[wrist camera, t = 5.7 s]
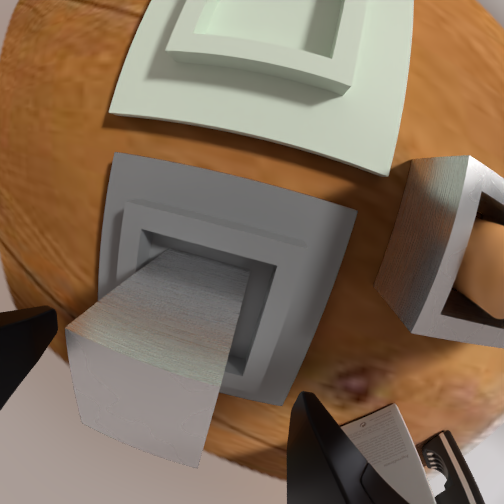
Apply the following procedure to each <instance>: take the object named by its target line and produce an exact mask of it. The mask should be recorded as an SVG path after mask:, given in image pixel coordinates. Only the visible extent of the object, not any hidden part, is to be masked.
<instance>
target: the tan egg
mask: <svg viewBox="0 0 504 504" xmlns="http://www.w3.org/2000/svg"><path fill="white" fill-rule="evenodd" d="M453 287H454V288H456V289H457V290H458V291H460V292H461V293H462V294H464V295H465V296H466V297H468V298H469V299H470V300H472V301H473V302H474V303H476V304H477V305H478V306H480V307H481V308H482V309H484V310H485V311H486V312H487V313H489V314H490V315H491V316H492V317H494V318H496V319H504V226H503V225H500V224H496V223H493V222H490V221H486V220H483V219H479V218H476V217H475V221H474V224H473V228H472V231H471V235H470V238H469V241H468V244H467V247H466V250H465V253H464V256H463V259H462V262H461V265H460V268H459V270H458V273H457V276H456V278H455V281H454V283H453Z"/></svg>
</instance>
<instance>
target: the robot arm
mask: <svg viewBox="0 0 504 504" xmlns="http://www.w3.org/2000/svg"><path fill="white" fill-rule="evenodd" d="M57 330H58V324H57V314H56V311H55V309H53V308H51V307H49V306H40V307H34V308H27V309H21V310H14V311H8V312H1V313H0V410H1V409H2V407H3V406H4V405H5V403H6V402H7V401H8V399H9V398H10V397H11V395H12V394H13V393H14V391H15V390H16V388H17V387H18V386H19V385H20V383H21V382H22V381H23V379H24V378H25V377H26V376H27V374H28V373H29V372H30V370H31V369H32V368H33V367H34V365H35V364H36V363H37V362H38V360H39V359H40V357H41V356H42V354H43V353H44V351H45V350H46V348H47V347H48V345H49V344H50V342H51V341H52V339H53V338H54V336H55V335H56V333H57ZM287 504H410V503H408V502H407V501H406V500H405V499H404V498H403V497H402V496H401V495H400V494H398V493H397V492H396V491H395V490H394V489H393V488H392V487H391V486H390V485H389V484H388V483H387V482H386V481H385V480H384V479H383V478H382V477H381V476H380V475H379V473H378V472H377V471H376V470H375V469H374V468H373V467H372V465H371V464H370V463H368V461H367V459H366V458H365V457H364V456H363V455H362V453H361V452H360V451H359V450H358V448H357V447H356V446H355V445H354V444H353V442H352V441H351V440H350V439H349V437H348V436H347V435H346V434H345V432H344V431H343V430H342V429H341V427H340V426H339V425H338V424H337V422H336V421H335V420H334V419H333V417H332V416H331V415H330V413H329V412H328V411H327V410H326V408H325V407H324V406H323V404H322V403H321V402H320V401H319V399H318V398H317V397H316V395H315V394H314V393H312V392H305V391H302V392H301V393H300V394H299V396H298V398H297V400H296V401H295V403H294V405H293V407H292V410H291V416H290V426H289V435H288V443H287Z"/></svg>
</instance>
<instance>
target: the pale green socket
mask: <svg viewBox="0 0 504 504" xmlns="http://www.w3.org/2000/svg"><path fill="white" fill-rule="evenodd" d="M413 6H414V0H151V2H150V4H149V6H148V8H147V10H146V12H145V15H144V17H143V19H142V21H141V23H140V25H139V28H138V30H137V32H136V35H135V37H134V39H133V42H132V44H131V47H130V49H129V52H128V55H127V57H126V60H125V63H124V65H123V68H122V71H121V74H120V77H119V80H118V83H117V86H116V89H115V92H114V96H113V99H112V102H111V106H110V109H109V113H111V114H114V115H117V116H127V117H136V118H145V119H154V120H161V121H168V122H175V123H182V124H188V125H194V126H200V127H205V128H211V129H216V130H221V131H226V132H231V133H235V134H240V135H244V136H249V137H253V138H257V139H261V140H266V141H270V142H273V143H277V144H281V145H285V146H289V147H292V148H296V149H299V150H303V151H306V152H310V153H313V154H316V155H320V156H323V157H326V158H329V159H332V160H335V161H338V162H341V163H344V164H347V165H350V166H353V167H356V168H359V169H362V170H364V171H367V172H370V173H373V174H375V175H378V176H380V177H388V176H389V172H390V168H391V163H392V159H393V155H394V151H395V146H396V141H397V137H398V132H399V127H400V122H401V116H402V111H403V105H404V99H405V93H406V86H407V79H408V71H409V63H410V53H411V42H412V29H413Z"/></svg>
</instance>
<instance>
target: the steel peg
mask: <svg viewBox="0 0 504 504" xmlns="http://www.w3.org/2000/svg"><path fill="white" fill-rule="evenodd" d="M249 274H250V270H247V269H244V268H240V267H236V266H233V265H229V264H225V263H222V262H218V261H214V260H211V259H207V258H203V257H200V256H196V255H193V254H189V253H185V252H182V251H178V250H175V249H171V248H169V249H168V250H166V251H165V252H164V253H162V254H161V255H159V256H158V257H157V258H155V259H154V260H153V261H151V262H150V263H148V264H147V265H146V266H144V267H143V268H142V269H140V270H139V271H137V272H136V273H135V274H133V275H132V276H131V277H129V278H128V279H127V280H125V281H124V282H123V283H121V284H120V285H119V286H117V287H116V288H115V289H113V290H112V291H111V292H110V293H108V294H107V295H106V296H104V297H103V298H102V299H100V300H99V301H98V302H97V303H95V304H94V305H93V306H91V307H90V308H89V309H88V310H86V311H85V312H84V313H83V314H81V315H80V316H79V317H78V318H76V319H75V320H74V321H73V322H71V323H70V324H69V325H68V326H67V327H65V335H66V343H67V351H68V358H69V365H70V371H71V376H72V381H73V387H74V392H75V396H76V401H77V405H78V409H79V414H80V417H81V421H82V423H83V424H85V425H87V426H88V427H90V428H92V429H94V430H96V431H98V432H100V433H102V434H105V435H107V436H109V437H111V438H113V439H115V440H118V441H120V442H122V443H124V444H127V445H129V446H132V447H134V448H137V449H139V450H142V451H144V452H147V453H150V454H152V455H155V456H158V457H161V458H164V459H167V460H170V461H174V462H177V463H179V464H183V465H186V466H190V467H193V468H198V465H199V461H200V457H201V454H202V451H203V447H204V443H205V440H206V436H207V433H208V429H209V426H210V422H211V419H212V415H213V411H214V408H215V404H216V401H217V397H218V393H219V390H220V386H221V382H222V379H223V375H224V371H225V367H226V363H227V359H228V355H229V352H230V348H231V344H232V340H233V336H234V332H235V328H236V325H237V321H238V317H239V313H240V309H241V305H242V301H243V297H244V294H245V290H246V286H247V282H248V278H249Z"/></svg>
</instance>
